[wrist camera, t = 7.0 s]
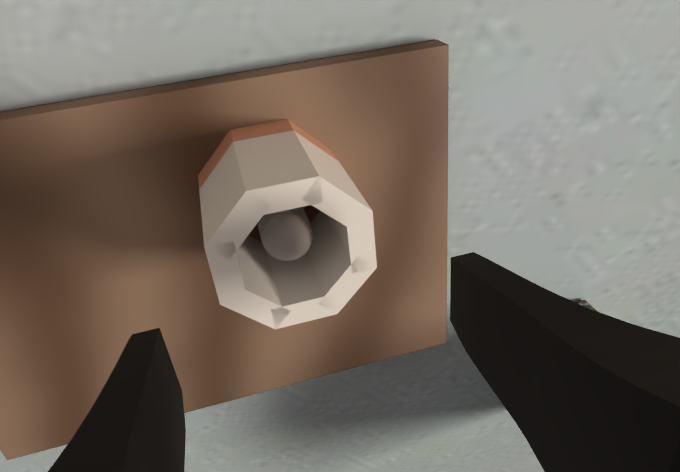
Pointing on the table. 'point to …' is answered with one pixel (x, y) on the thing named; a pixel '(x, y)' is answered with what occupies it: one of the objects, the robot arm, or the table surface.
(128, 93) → the pin board
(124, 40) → the table surface
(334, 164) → the sleeve
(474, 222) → the table surface
